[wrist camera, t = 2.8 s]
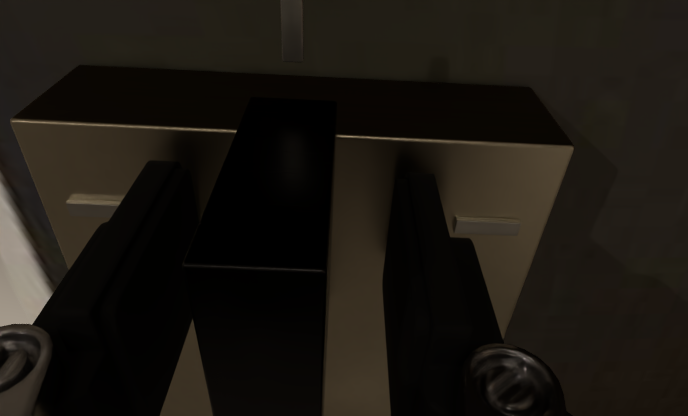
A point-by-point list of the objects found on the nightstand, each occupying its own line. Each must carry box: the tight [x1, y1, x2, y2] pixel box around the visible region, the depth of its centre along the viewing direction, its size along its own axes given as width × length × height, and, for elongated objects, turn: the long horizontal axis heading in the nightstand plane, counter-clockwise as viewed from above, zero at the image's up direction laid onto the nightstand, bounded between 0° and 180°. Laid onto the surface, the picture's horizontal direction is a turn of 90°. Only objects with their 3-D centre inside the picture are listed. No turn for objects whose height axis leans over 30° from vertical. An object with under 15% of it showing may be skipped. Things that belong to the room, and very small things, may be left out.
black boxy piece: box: [182, 97, 337, 416], centre depth 9 cm, size 6×2×5 cm, turn 177°
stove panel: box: [10, 0, 574, 416], centre depth 14 cm, size 19×11×3 cm, turn 177°
